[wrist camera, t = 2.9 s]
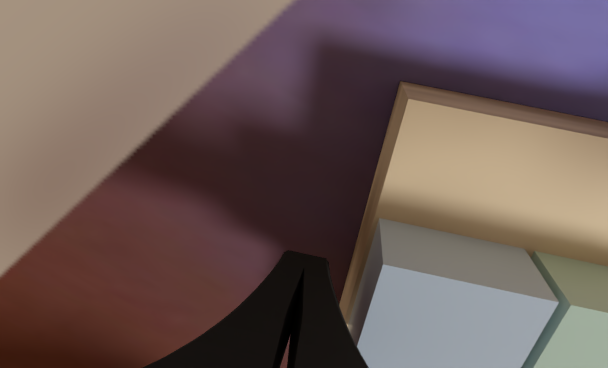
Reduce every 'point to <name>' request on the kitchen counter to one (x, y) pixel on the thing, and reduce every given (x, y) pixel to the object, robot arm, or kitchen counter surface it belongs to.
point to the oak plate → (489, 177)
